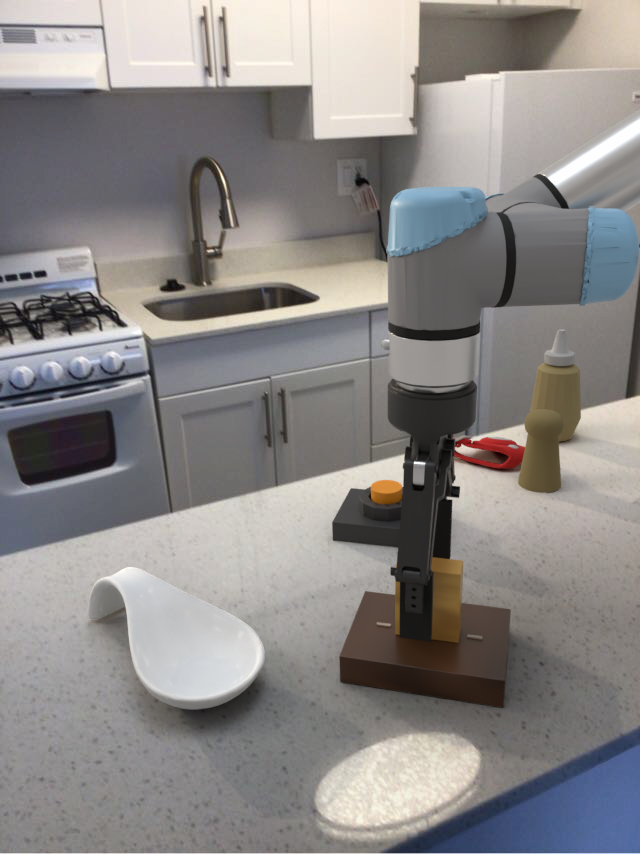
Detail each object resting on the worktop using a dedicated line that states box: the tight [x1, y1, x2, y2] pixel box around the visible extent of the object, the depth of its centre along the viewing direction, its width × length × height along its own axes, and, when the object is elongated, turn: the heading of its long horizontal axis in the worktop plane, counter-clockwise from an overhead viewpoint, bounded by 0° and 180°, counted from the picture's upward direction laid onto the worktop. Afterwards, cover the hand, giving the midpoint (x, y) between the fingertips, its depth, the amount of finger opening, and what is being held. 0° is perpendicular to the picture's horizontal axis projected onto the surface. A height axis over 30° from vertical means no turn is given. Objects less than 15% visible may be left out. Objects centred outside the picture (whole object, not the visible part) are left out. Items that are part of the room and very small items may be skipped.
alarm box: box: [331, 486, 403, 548], centre depth 98 cm, size 12×10×4 cm
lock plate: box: [338, 590, 512, 709], centre depth 74 cm, size 15×11×3 cm
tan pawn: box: [517, 409, 563, 494], centre depth 107 cm, size 6×6×11 cm
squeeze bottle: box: [529, 328, 582, 443], centre depth 122 cm, size 8×8×18 cm
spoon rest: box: [87, 566, 266, 710], centre depth 74 cm, size 24×12×7 cm, turn 46°
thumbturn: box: [394, 557, 464, 643], centre depth 72 cm, size 6×2×8 cm, turn 74°
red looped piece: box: [453, 434, 525, 470], centre depth 117 cm, size 12×4×10 cm
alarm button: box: [370, 479, 403, 504], centre depth 97 cm, size 4×4×2 cm
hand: (427, 594), depth 71 cm, fingers open, 13 cm apart
